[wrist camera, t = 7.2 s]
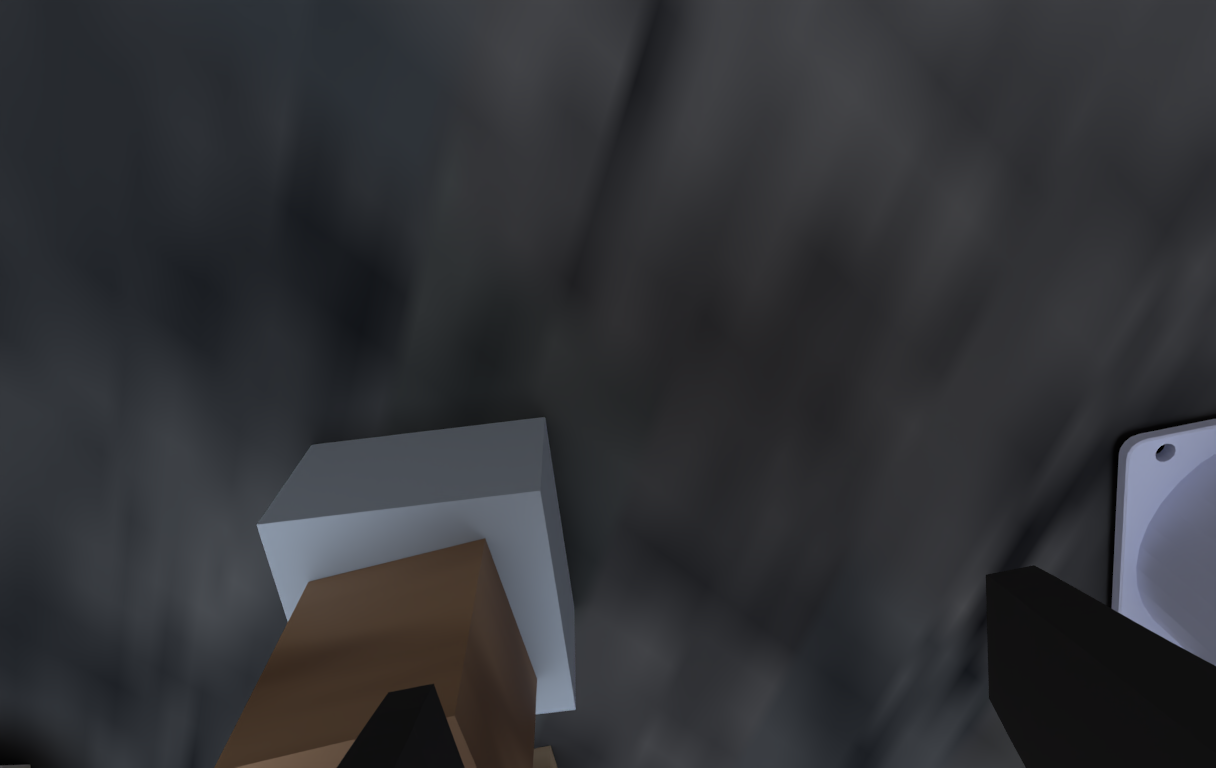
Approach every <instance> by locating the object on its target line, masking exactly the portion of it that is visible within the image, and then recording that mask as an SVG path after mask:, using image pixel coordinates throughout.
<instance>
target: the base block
mask: <svg viewBox="0 0 1216 768" xmlns="http://www.w3.org/2000/svg"><path fill="white" fill-rule="evenodd" d="M257 528H258V531H259V534H260V537H261V540H262V543H263V546H264V549H265V552H266V556H267V559H268V562H269V565H270V568H271V571H272V574H273V577H274V580H275V584H276V587H277V590H278V593H279V596H280V599H281V602H282V605H283V608H284V611H285V615H286V618H287V621H289V619H290V617H291V615H292V613H293V611H294V609H295V607H296V605H297V603H298V601H299V599H300V597H301V595H302V593H303V591H304V589H305V587H306V585H307V583H308V582H310V581H314V580H318V579H322V578H326V577H330V576H334V575H338V574H342V573H346V572H350V571H354V570H358V569H362V568H366V567H371V566H375V565H379V564H383V563H387V562H391V561H395V560H399V559H403V558H407V557H411V556H415V555H419V554H423V553H427V552H431V551H435V550H440V549H444V548H448V547H452V546H456V545H460V544H464V543H468V542H472V541H476V540H480V539H484V538H485V539H486V542H487V544H488V547H489V550H490V552H491V555H492V558H493V561H494V563H495V566H496V569H497V571H498V574H499V577H500V580H501V582H502V585H503V588H504V590H505V593H506V596H507V598H508V601H509V604H510V607H511V609H512V612H513V615H514V617H515V620H516V623H517V626H518V628H519V631H520V634H521V636H522V639H523V642H524V645H525V647H526V650H527V653H528V655H529V658H530V661H531V664H532V666H533V669H534V672H535V675H536V677H537V694H536V714H543V713H552V712H560V711H568V710H576V687H575V611H574V602H573V596H572V589H571V583H570V576H569V570H568V563H567V557H566V550H565V543H564V537H563V530H562V524H561V517H560V511H559V504H558V498H557V491H556V485H555V478H554V472H553V465H552V459H551V452H550V445H549V439H548V432H547V426H546V419H545V417H540V418H532V419H523V420H515V421H507V422H498V423H490V424H482V425H473V426H465V427H457V428H448V429H440V430H431V431H423V432H415V433H406V434H398V435H390V436H381V437H373V438H364V439H356V440H348V441H339V442H331V443H323V444H314V445H311V446H310V448H309V449H308V451H307V452H306V454H305V455H304V457H303V458H302V459H301V461H300V462H299V464H298V465H297V467H296V468H295V470H294V471H293V473H292V474H291V475H290V477H289V478H288V480H287V481H286V483H285V484H284V486H283V487H282V489H281V490H280V491H279V493H278V494H277V496H276V497H275V499H274V500H273V502H272V503H271V504H270V506H269V507H268V509H267V510H266V512H265V513H264V515H263V516H262V518H261V519H260V520H259V522H258V523H257Z"/></svg>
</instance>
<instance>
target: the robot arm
mask: <svg viewBox="0 0 1216 768" xmlns="http://www.w3.org/2000/svg"><path fill="white" fill-rule="evenodd" d="M1162 445H1165V446H1164V449H1163V450H1162V451H1161V452H1160V453H1158V454H1156V452H1157V450H1158V449H1159V448H1160V447H1161V446H1162ZM986 596H987V634H988V672H989V699H990V701H991V703H992V705H993V707H994V709H995V710H996V712H997V714H998V716H999V718H1000V720H1001V722H1002V724H1003V726H1004V728H1005V730H1006V732H1007V734H1008V736H1009V737H1010V739H1011V741H1012V743H1013V745H1014V747H1015V749H1016V750H1017V752H1018V754H1019V756H1020V758H1021V759H1022V761H1023V763H1024V765H1025V767H1026V768H1216V419H1211V420H1206V421H1201V422H1196V423H1191V424H1186V425H1181V426H1176V427H1171V428H1166V429H1161V430H1156V431H1151V432H1146V433H1141V434H1137V435H1135V436H1132V437H1130V438H1129V439H1128V440H1126V441H1125V442H1124V444H1123V445H1122V446H1121V448H1120V452H1119V460H1118V481H1117V502H1116V524H1115V545H1114V566H1113V587H1112V609H1111V608H1110V607H1108V606H1106V605H1104V604H1102V603H1101V602H1099V601H1097V600H1095V599H1094V598H1092V597H1090V596H1088V595H1087V594H1085V593H1083V592H1081V591H1080V590H1078V589H1076V588H1074V587H1072V586H1071V585H1069V584H1067V583H1065V582H1064V581H1062V580H1060V579H1058V578H1056V577H1055V576H1053V575H1051V574H1049V573H1047V572H1045V571H1043V570H1041V569H1040V568H1038V567H1036V566H1029V567H1024V568H1019V569H1014V570H1009V571H1004V572H999V573H994V574H988V575H986ZM337 768H465V767H464V765H463V762H462V759H461V757H460V754H459V751H458V748H457V746H456V743H455V740H454V738H453V735H452V732H451V729H450V727H449V724H448V721H447V719H446V716H445V713H444V710H443V708H442V705H441V702H440V699H439V697H438V694H437V691H436V689H435V686H434V684H428V685H423V686H418V687H413V688H408V689H403V690H398V691H393V692H388V694H387V695H386V696H385V698H384V699H383V701H382V702H381V704H380V705H379V706H378V708H377V709H376V711H375V712H374V713H373V715H372V716H371V718H370V719H369V721H368V722H367V724H366V725H365V726H364V728H363V729H362V731H361V732H360V734H359V735H358V737H357V738H356V740H355V741H354V743H353V744H352V746H351V747H350V749H349V750H348V751H347V753H346V754H345V756H344V757H343V759H342V760H341V762H340V763H339V765H338V766H337Z"/></svg>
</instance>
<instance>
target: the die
mask: <svg viewBox="0 0 1216 768" xmlns="http://www.w3.org/2000/svg"><path fill="white" fill-rule="evenodd" d="M0 768H31V766H30V765H0Z"/></svg>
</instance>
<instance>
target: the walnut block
mask: <svg viewBox="0 0 1216 768" xmlns="http://www.w3.org/2000/svg"><path fill="white" fill-rule="evenodd" d="M428 684H434V686H435V689H436V691H437V694H438V697H439V699H440V702H441V705H442V708H443V710H444V713H445V716H446V719H447V721H448V724H449V727H450V729H451V732H452V735H453V738H454V740H455V743H456V746H457V748H458V751H459V754H460V757H461V759H462V762H463V765H464V767H465V768H533V756H534V735H535V714H536V694H537V677H536V675H535V672H534V669H533V666H532V664H531V661H530V658H529V655H528V653H527V650H526V647H525V645H524V642H523V639H522V636H521V634H520V631H519V628H518V626H517V623H516V620H515V617H514V615H513V612H512V609H511V607H510V604H509V601H508V598H507V596H506V593H505V590H504V588H503V585H502V582H501V580H500V577H499V574H498V571H497V569H496V566H495V563H494V561H493V558H492V555H491V552H490V550H489V547H488V544H487V542H486V539H485V538H484V539H480V540H476V541H472V542H468V543H464V544H460V545H456V546H452V547H448V548H444V549H440V550H435V551H431V552H427V553H423V554H419V555H415V556H411V557H407V558H403V559H399V560H395V561H391V562H387V563H383V564H379V565H375V566H371V567H366V568H362V569H358V570H354V571H350V572H346V573H342V574H338V575H334V576H330V577H326V578H322V579H318V580H314V581H310V582H308V583H307V585H306V587H305V589H304V591H303V593H302V595H301V597H300V599H299V601H298V603H297V605H296V607H295V609H294V611H293V613H292V615H291V617H290V619H289V621H288V623H287V625H286V627H285V629H284V631H283V633H282V635H281V637H280V639H279V641H278V643H277V645H276V647H275V649H274V651H273V653H272V655H271V657H270V659H269V661H268V663H267V665H266V667H265V669H264V671H263V673H262V675H261V677H260V679H259V680H258V682H257V684H256V686H255V688H254V690H253V692H252V694H251V696H250V698H249V700H248V702H247V704H246V706H245V708H244V710H243V712H242V714H241V716H240V718H239V720H238V722H237V724H236V726H235V728H234V730H233V732H232V734H231V736H230V738H229V740H228V742H227V744H226V746H225V748H224V750H223V752H222V754H221V756H220V758H219V760H218V762H217V764H216V766H215V768H337V766H338V765H339V763H340V762H341V760H342V759H343V757H344V756H345V754H346V753H347V751H348V750H349V749H350V747H351V746H352V744H353V743H354V741H355V740H356V738H357V737H358V735H359V734H360V732H361V731H362V729H363V728H364V726H365V725H366V724H367V722H368V721H369V719H370V718H371V716H372V715H373V713H374V712H375V711H376V709H377V708H378V706H379V705H380V704H381V702H382V701H383V699H384V698H385V696H386V695H387V694H388V692H393V691H398V690H403V689H408V688H413V687H418V686H423V685H428Z"/></svg>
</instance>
